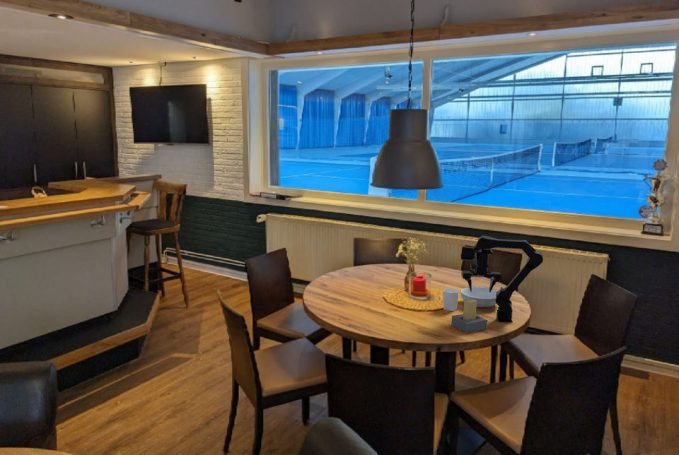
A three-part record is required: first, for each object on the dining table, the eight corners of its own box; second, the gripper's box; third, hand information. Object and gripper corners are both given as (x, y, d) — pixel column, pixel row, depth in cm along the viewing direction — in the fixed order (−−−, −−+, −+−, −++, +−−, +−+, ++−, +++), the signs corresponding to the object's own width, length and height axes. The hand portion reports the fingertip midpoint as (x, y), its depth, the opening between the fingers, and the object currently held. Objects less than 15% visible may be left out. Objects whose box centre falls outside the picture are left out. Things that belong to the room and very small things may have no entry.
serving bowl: (499, 300, 285) (500, 288, 283) (500, 313, 265) (501, 300, 264) (460, 296, 290) (461, 284, 289) (459, 309, 270) (459, 296, 269)
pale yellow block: (471, 324, 249) (472, 299, 246) (475, 327, 246) (476, 301, 243) (462, 326, 246) (464, 300, 244) (466, 328, 244) (468, 302, 241)
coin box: (471, 321, 254) (471, 312, 253) (486, 328, 244) (487, 319, 243) (451, 324, 248) (451, 315, 248) (466, 332, 239) (466, 323, 238)
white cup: (450, 312, 265) (451, 294, 263) (439, 308, 271) (439, 290, 269) (460, 309, 269) (461, 291, 267) (449, 305, 275) (450, 287, 274)
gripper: (498, 258, 261) (495, 287, 264) (460, 256, 262) (458, 286, 265) (503, 263, 250) (500, 294, 253) (463, 262, 251) (462, 293, 254)
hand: (480, 292), depth 257 cm, fingers open, 9 cm apart
